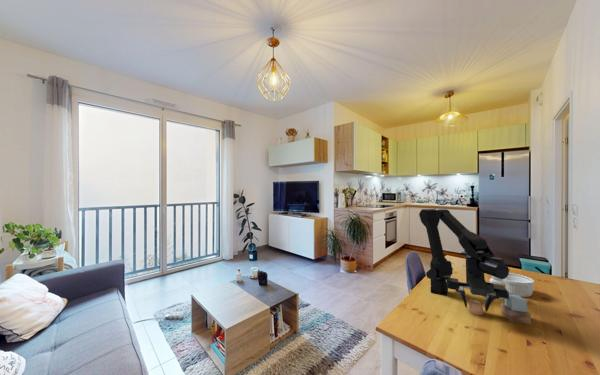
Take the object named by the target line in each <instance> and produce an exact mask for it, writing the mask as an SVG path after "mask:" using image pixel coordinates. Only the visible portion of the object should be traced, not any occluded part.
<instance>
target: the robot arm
mask: <svg viewBox="0 0 600 375" xmlns="http://www.w3.org/2000/svg"><path fill="white" fill-rule="evenodd" d="M418 215H419V219H420V222H421V223H422V225H423V226H424V227H425V228H426V233H427V238H428V244H429V248H430V252H431V256H432V258H431V261H430V264H429V265H430V266H429V267H430V269H428V271H426V272H425V275H426V277H427V279H429V280H430V293H431V294H432V293H433V294H436V295H441V296H448V293H449V290H454V291H455V292H456V293H459V295H460V296H461V298H462V299H461V300H462V301H463V303H464V306H465V308H466V309H467V308H468V305H467V304H468V301H467V298H466V296H467V295H466V290H465V289H469V291H470V294H472V295H473V296H482V297H483V298H484V311H485V312H486V313H487V312H488V311H489V308H490V306H491V305H492V303H493V302H494V300H500V299H499V297H500V298H505V299H509V295H510V294H509V292H508V291H507V290H506V288H505V287H504V286H500V285H494V284H493V283H490V282H487V281H486V279H485V274H486V275H488V276H489V275H490V276H494V277H497V278H500V279H505V278H506V277H507V276H508V274H509V273H510V268H509V266H508V265H507V263H505V259H503V258H500V257H499V258H498V257H495V254H494V252H493V251H492V249H491V248H490V246H489V245H488V243H487V240H486V239H484V238H483V237H482V236H481V235H479V234H477V233H475V232H472V231H471V230H469V229H468V228H466V227H465V226H464V225H463V224H462V222H460V220H458V219H457V218H456V216H454V215H453V214H452V213H451V211H450V210H449V209H446V208H444V209H443V208H442V209H435V208H432V209H431V208H427V209H423V208H422V209H421V210H420V211H419V213H418ZM440 220H441V222H442V223H443V224H444V225H445V226H446V227H447V228H448V229H449V230H450V231H451V232H452V233H453V234H454V235H455V236H456V238H457V239H458V244H459V245H460V246H461V248H462V249H463V250H464V251H462V252H460V255H461V256H464V257H465V281H466V282H462V281H459V279H458V278H454V277H451V276H452V275H453V272H454V269H453V266H452V265H453V264H452V261H451V260H448V259H447V258H446V257H445V253H444V248H443V244H442V239H441V235H440V232H439V223H440ZM505 299H504V300H505Z"/></svg>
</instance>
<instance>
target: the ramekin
mask: <svg viewBox="0 0 600 375" xmlns="http://www.w3.org/2000/svg"><path fill="white" fill-rule="evenodd" d="M503 281H505V284H506V290H507V291H508V292H509V295H518V296H520V297H522V298H528V297H531V296H532V295H533V291H534V285H535V280H534V279H533V278H530V277H528V276H525V275H522V274H518V273H513V272H509V274H508V276H507V277H506V278H505V279H503Z"/></svg>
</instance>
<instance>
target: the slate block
mask: <svg viewBox="0 0 600 375" xmlns="http://www.w3.org/2000/svg"><path fill="white" fill-rule="evenodd" d="M504 304H505V305H506V306H507V307H508V308H510V309H511V310H513V311H520V312H527V311H528V300H526V299H525V298H524V297H520V296H518V295H510V294H509V299H504Z"/></svg>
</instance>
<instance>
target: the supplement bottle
mask: <svg viewBox="0 0 600 375" xmlns="http://www.w3.org/2000/svg"><path fill="white" fill-rule="evenodd" d="M490 276H491V275H490ZM489 283H493V284H494V285H500V286H504V287H505V288H506V284H505V281H503V279H500V278H497V277H494V276H491V278H489ZM498 300H505V298H500V297H499V299H498Z"/></svg>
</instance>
